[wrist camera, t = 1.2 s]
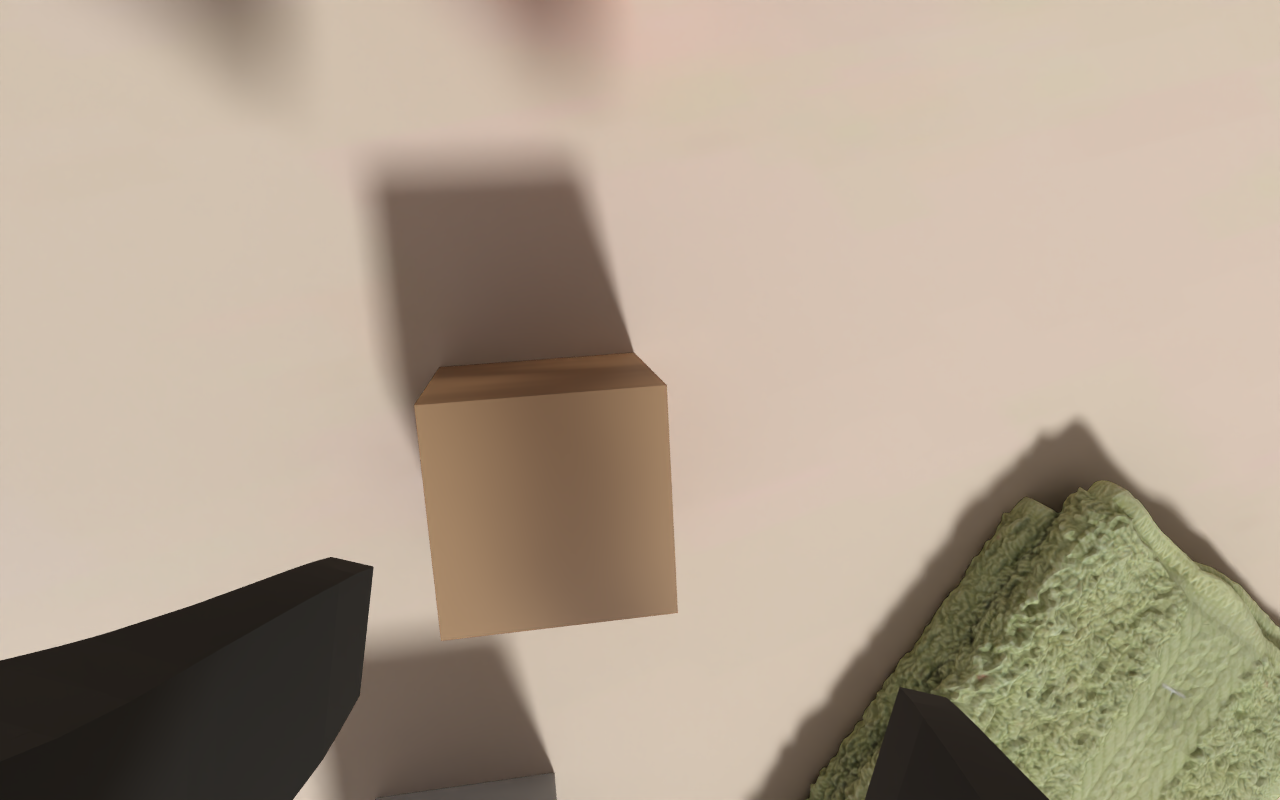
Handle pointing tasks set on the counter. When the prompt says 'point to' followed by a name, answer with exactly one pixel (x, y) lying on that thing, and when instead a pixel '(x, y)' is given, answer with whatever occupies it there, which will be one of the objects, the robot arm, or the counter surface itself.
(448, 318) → the counter surface
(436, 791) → the slate grey block
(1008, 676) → the washcloth
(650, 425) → the walnut block
